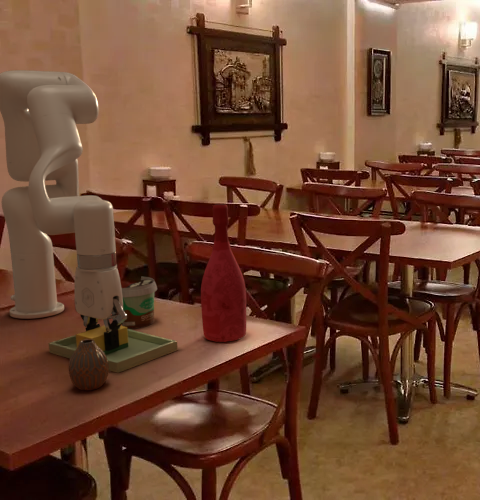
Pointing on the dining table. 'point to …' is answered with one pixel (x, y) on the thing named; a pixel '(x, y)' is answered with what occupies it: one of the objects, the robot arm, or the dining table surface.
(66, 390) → the dining table surface
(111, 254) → the robot arm
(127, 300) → the food container
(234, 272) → the wine bottle
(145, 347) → the tray
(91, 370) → the vase
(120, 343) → the sponge
